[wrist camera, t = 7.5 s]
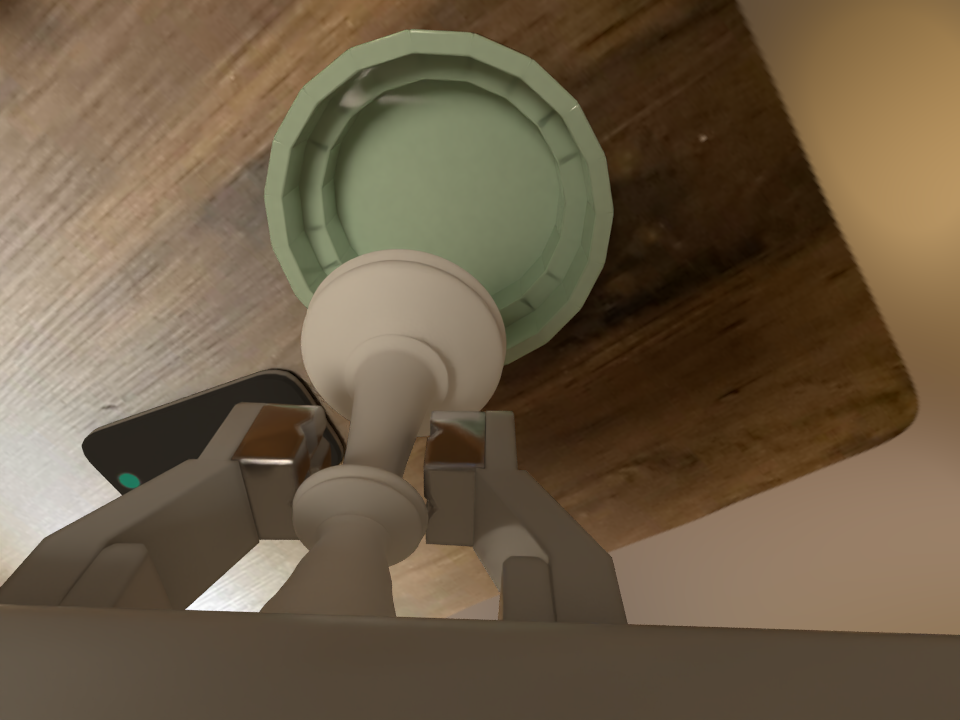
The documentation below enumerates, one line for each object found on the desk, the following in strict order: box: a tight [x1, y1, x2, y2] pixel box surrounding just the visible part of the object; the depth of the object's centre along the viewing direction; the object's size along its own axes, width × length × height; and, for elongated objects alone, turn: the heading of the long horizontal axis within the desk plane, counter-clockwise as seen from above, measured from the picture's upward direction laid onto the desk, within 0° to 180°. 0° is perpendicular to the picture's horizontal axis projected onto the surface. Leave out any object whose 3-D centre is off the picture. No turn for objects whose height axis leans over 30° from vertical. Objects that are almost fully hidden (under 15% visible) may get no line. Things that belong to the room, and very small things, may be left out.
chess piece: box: [260, 249, 506, 617], centre depth 9 cm, size 5×5×10 cm
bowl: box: [264, 29, 614, 366], centre depth 23 cm, size 13×13×5 cm
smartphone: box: [82, 370, 343, 495], centre depth 33 cm, size 8×1×15 cm
